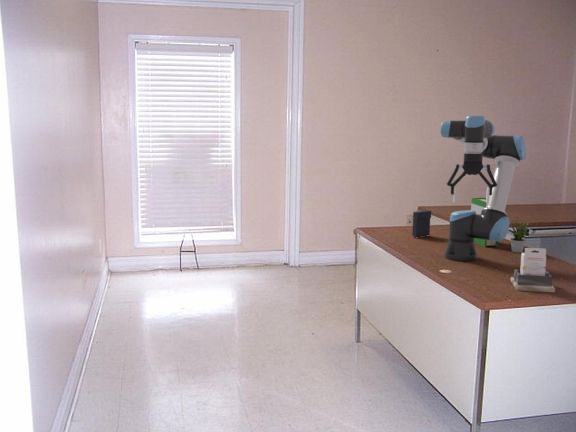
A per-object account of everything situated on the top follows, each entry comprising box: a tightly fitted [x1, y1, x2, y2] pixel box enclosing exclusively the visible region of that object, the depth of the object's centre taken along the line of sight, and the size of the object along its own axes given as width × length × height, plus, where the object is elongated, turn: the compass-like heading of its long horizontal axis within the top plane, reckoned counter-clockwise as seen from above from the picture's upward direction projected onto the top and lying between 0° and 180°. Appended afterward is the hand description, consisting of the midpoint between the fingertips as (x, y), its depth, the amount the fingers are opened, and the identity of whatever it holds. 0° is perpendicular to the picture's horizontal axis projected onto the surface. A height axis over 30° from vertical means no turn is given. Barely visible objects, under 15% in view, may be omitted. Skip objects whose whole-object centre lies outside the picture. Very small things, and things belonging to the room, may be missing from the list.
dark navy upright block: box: [411, 209, 432, 238], centre depth 313 cm, size 11×4×15 cm, turn 122°
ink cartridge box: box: [519, 247, 547, 276], centre depth 218 cm, size 9×5×15 cm, turn 80°
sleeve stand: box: [510, 268, 556, 293], centre depth 219 cm, size 14×14×6 cm
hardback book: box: [470, 197, 499, 248], centre depth 294 cm, size 18×7×24 cm, turn 8°
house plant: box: [508, 220, 531, 253], centre depth 277 cm, size 14×14×16 cm
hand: (470, 202), depth 232 cm, fingers open, 13 cm apart
